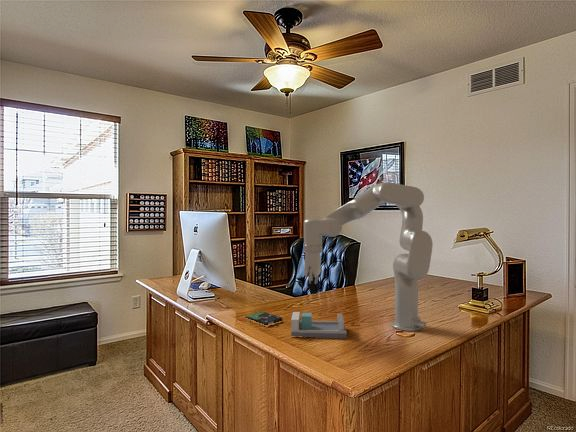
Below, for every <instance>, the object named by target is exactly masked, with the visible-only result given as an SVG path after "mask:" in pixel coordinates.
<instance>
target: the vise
mask: <svg viewBox="0 0 576 432" xmlns="http://www.w3.org/2000/svg"><path fill="white" fill-rule="evenodd" d="M290 320H291V321H290V326H291V327H290V329H291V330H290V331H291V332H290V335H291V336H302V337H315V338H314V339H347V333H348V332H347V329H346V327H345V324H344V331H338V325H337V320H336V321H335V320H334V321H333V320H312V330H302V320H301V312H300V311H292V315H291V319H290ZM291 336H290V337H291Z"/></svg>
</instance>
